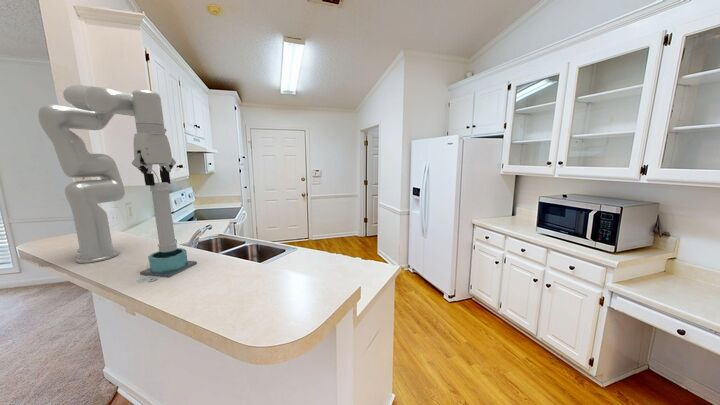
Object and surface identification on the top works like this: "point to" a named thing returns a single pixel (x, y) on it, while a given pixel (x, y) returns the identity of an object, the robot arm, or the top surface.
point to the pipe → (163, 216)
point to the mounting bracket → (148, 279)
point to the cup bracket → (168, 263)
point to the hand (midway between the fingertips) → (158, 184)
